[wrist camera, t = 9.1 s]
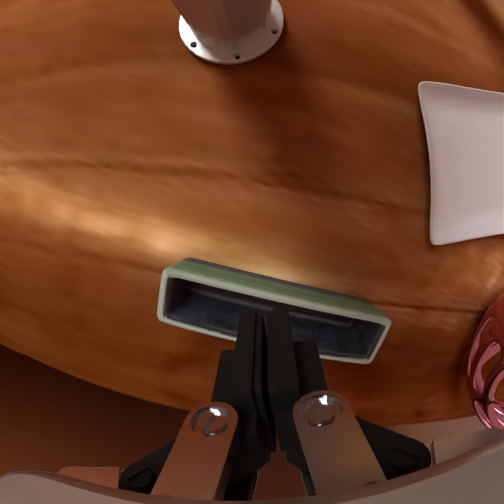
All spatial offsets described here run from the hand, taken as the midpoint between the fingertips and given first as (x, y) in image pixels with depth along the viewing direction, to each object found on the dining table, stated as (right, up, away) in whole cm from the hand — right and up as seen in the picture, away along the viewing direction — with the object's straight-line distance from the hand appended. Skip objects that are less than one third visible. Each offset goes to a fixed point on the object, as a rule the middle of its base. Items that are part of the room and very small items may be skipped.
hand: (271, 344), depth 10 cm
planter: (+2, -3, +30) cm, 30 cm away
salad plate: (+31, +16, +22) cm, 42 cm away
